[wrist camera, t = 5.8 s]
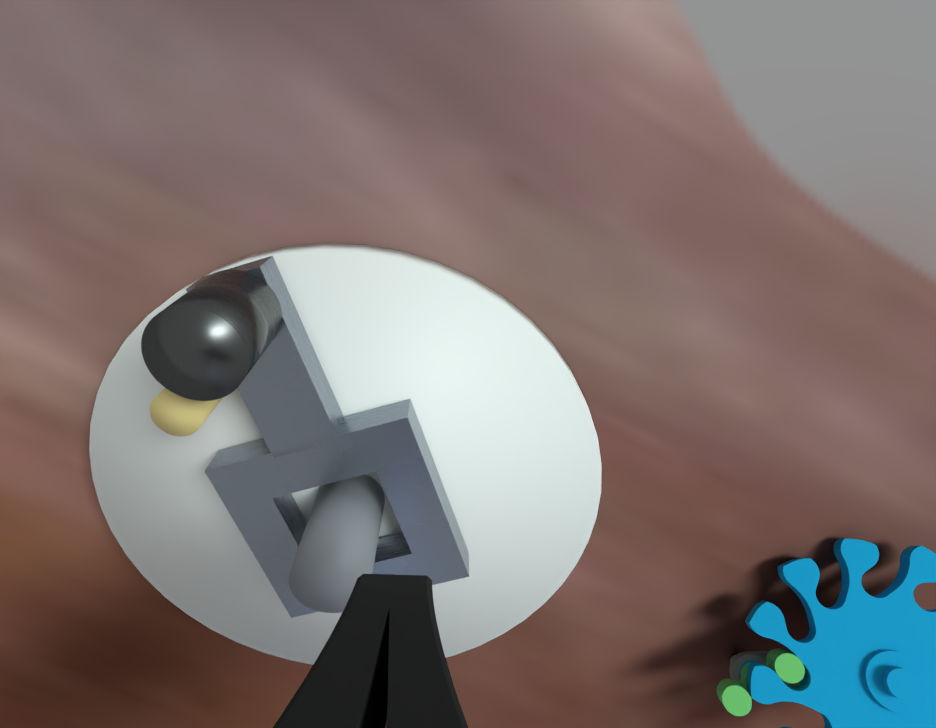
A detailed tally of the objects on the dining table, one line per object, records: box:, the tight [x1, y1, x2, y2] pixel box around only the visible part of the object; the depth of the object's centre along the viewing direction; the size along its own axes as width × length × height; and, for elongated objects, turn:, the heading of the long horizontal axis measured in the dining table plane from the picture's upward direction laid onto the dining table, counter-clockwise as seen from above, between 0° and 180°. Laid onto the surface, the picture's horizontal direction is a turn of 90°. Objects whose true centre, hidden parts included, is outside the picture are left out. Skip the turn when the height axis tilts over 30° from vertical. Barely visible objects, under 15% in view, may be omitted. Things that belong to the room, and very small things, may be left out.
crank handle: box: [141, 256, 469, 618], centre depth 17 cm, size 13×7×4 cm, turn 16°
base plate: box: [89, 243, 602, 665], centre depth 19 cm, size 18×18×5 cm
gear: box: [717, 539, 936, 728], centre depth 23 cm, size 11×6×10 cm
